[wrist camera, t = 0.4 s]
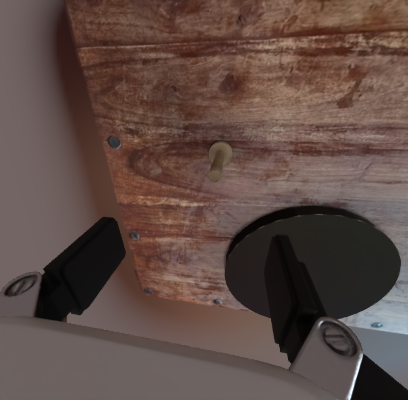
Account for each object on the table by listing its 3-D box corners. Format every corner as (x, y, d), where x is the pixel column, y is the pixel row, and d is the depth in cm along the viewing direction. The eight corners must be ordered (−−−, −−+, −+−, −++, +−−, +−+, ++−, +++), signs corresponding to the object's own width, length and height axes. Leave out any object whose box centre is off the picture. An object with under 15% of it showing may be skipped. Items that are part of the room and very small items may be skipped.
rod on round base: (209, 140, 27) (197, 159, 18) (233, 141, 26) (232, 160, 18) (209, 163, 29) (198, 190, 20) (231, 164, 28) (230, 192, 20)
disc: (428, 215, 27) (449, 227, 25) (346, 319, 42) (353, 333, 39) (232, 196, 31) (232, 205, 28) (220, 298, 46) (219, 310, 43)
